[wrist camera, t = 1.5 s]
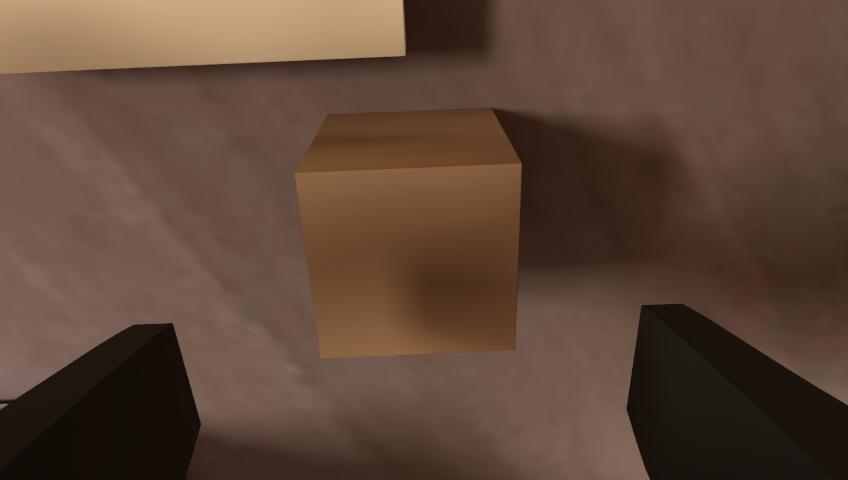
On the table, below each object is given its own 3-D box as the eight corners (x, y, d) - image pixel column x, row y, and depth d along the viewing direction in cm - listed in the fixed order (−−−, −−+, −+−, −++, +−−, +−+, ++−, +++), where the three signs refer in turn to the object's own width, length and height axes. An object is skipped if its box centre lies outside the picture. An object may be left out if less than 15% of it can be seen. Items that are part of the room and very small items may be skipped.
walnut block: (489, 252, 18) (515, 350, 13) (344, 259, 18) (320, 358, 13) (491, 107, 16) (521, 163, 11) (328, 114, 16) (294, 173, 11)
